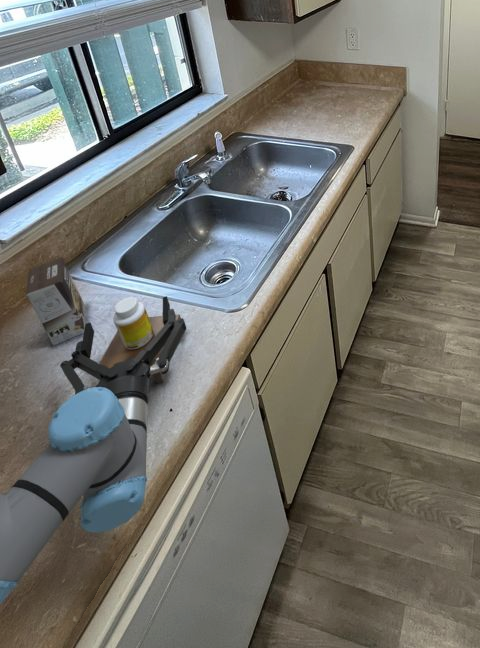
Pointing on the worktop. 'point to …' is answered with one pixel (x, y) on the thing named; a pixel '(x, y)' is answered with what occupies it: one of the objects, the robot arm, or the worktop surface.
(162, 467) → the worktop surface
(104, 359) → the stool
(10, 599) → the worktop surface
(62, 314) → the coffee box
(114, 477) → the robot arm
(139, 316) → the supplement bottle
